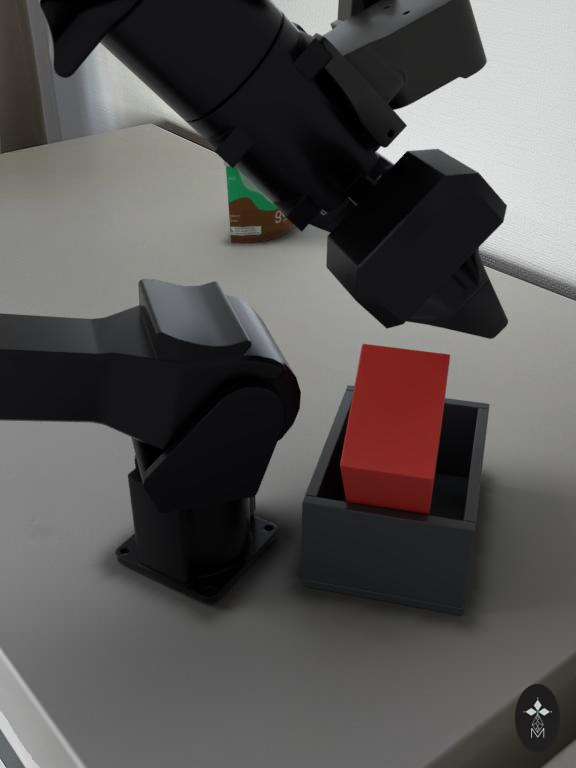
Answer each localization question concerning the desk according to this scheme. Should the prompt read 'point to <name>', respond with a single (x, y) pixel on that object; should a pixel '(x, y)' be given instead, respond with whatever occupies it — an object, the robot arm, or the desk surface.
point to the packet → (394, 428)
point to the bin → (398, 522)
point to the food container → (252, 211)
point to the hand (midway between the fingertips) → (454, 290)
